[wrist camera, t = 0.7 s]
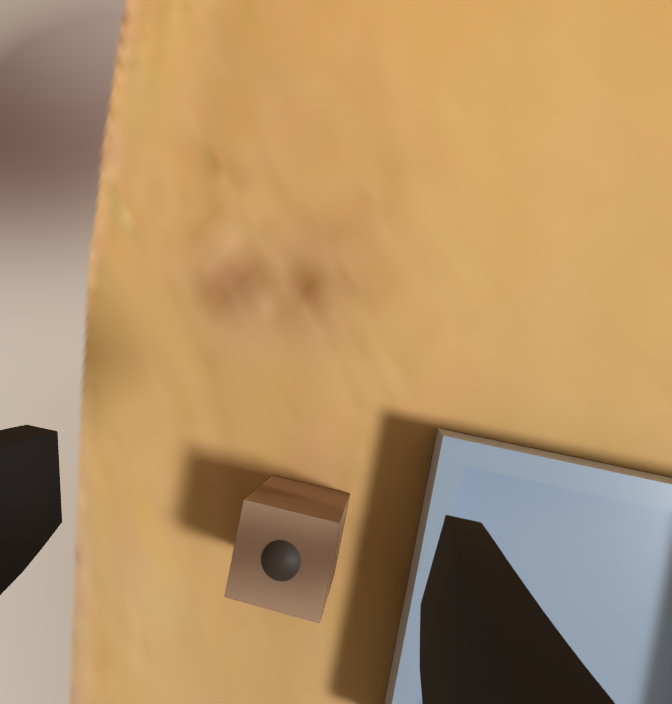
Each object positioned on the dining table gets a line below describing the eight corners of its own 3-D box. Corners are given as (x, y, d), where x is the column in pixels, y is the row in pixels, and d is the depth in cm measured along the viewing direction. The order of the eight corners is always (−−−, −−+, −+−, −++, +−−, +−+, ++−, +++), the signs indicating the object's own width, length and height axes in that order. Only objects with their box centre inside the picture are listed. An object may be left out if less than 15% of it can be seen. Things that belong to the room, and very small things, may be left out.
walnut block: (334, 573, 25) (319, 624, 20) (257, 553, 26) (223, 597, 21) (350, 493, 25) (339, 523, 20) (272, 474, 26) (243, 500, 21)
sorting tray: (695, 808, 22) (742, 875, 19) (382, 714, 24) (380, 762, 21) (752, 494, 22) (807, 513, 20) (437, 427, 25) (443, 435, 22)
